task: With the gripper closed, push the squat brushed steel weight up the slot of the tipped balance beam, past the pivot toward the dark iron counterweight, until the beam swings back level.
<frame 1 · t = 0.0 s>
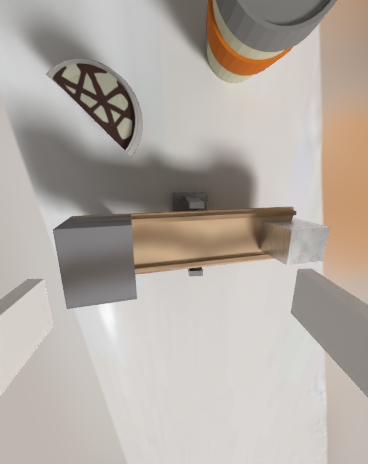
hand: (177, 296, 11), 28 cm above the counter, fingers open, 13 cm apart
balance stand: (189, 224, 39), on the counter
balance beam: (202, 245, 27), point 12 cm above the counter, hinge at -10.1°, touching steel weight
reusable coffee cup: (234, 51, 32), on the counter
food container: (122, 118, 33), on the counter
steel weight: (277, 234, 33), point 7 cm above the counter, tilted 10°, touching balance beam
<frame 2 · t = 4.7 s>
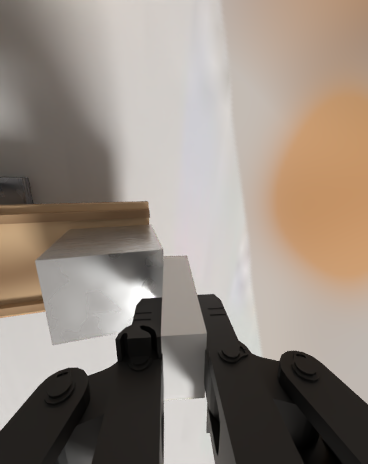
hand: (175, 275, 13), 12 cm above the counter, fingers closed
balance stand: (9, 233, 22), on the counter
steel weight: (114, 255, 16), point 7 cm above the counter, tilted 10°, touching balance beam, gripper
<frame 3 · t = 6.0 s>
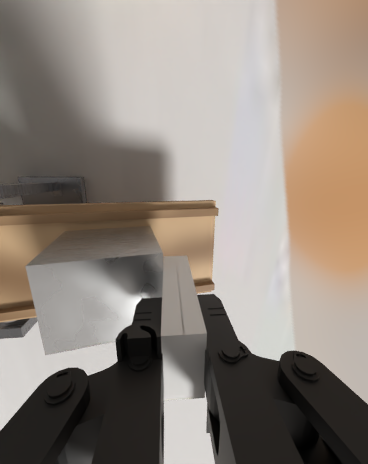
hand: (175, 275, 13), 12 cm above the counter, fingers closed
balance stand: (62, 231, 23), on the counter
steel weight: (112, 258, 16), point 8 cm above the counter, tilted 10°, touching gripper
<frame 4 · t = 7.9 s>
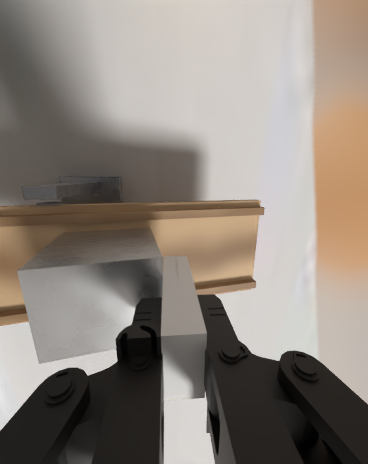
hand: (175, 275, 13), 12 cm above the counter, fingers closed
balance stand: (98, 230, 24), on the counter
balance beam: (44, 280, 12), point 12 cm above the counter, hinge at -9.6°, touching steel weight
steel weight: (111, 260, 15), point 9 cm above the counter, tilted 10°, touching balance beam, gripper
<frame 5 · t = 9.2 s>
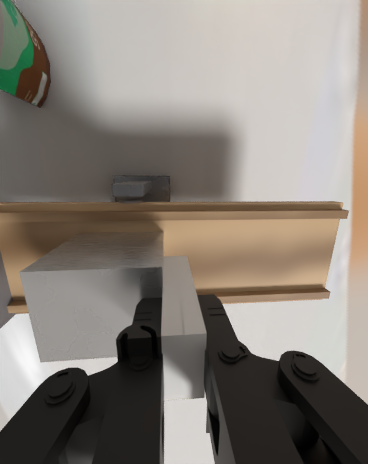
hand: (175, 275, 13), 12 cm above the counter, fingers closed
balance stand: (145, 227, 25), on the counter
balance beam: (127, 273, 13), point 12 cm above the counter, hinge at 0.1°, touching steel weight
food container: (18, 42, 19), on the counter
steel weight: (124, 263, 15), point 10 cm above the counter, touching balance beam, gripper
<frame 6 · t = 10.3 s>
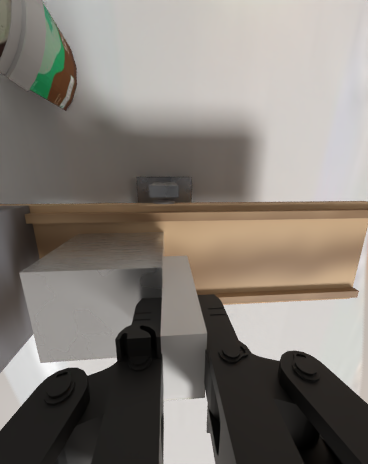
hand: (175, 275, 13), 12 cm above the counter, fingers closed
balance stand: (165, 227, 25), on the counter
balance beam: (165, 272, 13), point 12 cm above the counter, hinge at 0.1°, touching steel weight
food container: (45, 46, 19), on the counter
steel weight: (124, 263, 15), point 10 cm above the counter, touching balance beam, gripper
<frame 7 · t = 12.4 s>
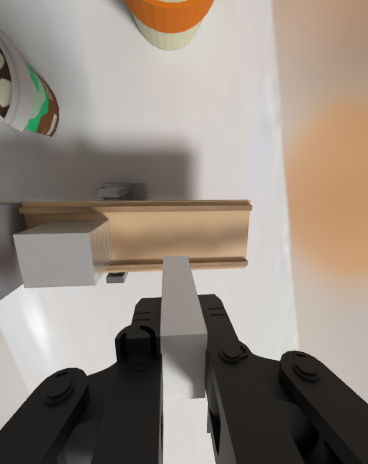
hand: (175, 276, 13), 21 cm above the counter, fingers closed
balance stand: (127, 221, 33), on the counter
balance beam: (106, 244, 21), point 12 cm above the counter, hinge at 0.1°, touching steel weight
reusable coffee cup: (167, 11, 27), on the counter
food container: (37, 93, 28), on the counter
steel weight: (84, 240, 23), point 10 cm above the counter, touching balance beam
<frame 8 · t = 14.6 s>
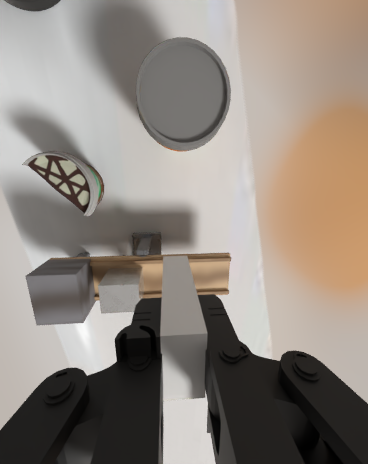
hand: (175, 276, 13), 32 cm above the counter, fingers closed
balance stand: (148, 257, 47), on the counter
balance beam: (142, 284, 35), point 12 cm above the counter, hinge at 0.1°, touching steel weight
reusable coffee cup: (177, 124, 40), on the counter
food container: (90, 176, 41), on the counter
steel weight: (126, 280, 37), point 10 cm above the counter, touching balance beam
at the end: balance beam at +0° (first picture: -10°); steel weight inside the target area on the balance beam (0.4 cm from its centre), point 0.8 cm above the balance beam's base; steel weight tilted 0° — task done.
